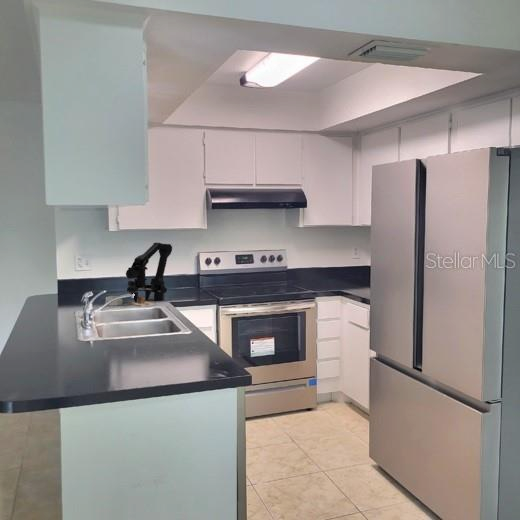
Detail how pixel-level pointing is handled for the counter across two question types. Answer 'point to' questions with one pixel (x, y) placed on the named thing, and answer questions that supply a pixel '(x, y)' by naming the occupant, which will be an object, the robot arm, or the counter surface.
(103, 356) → the counter surface
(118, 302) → the bowl
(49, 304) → the counter surface
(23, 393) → the counter surface
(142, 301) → the lid
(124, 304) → the mat
